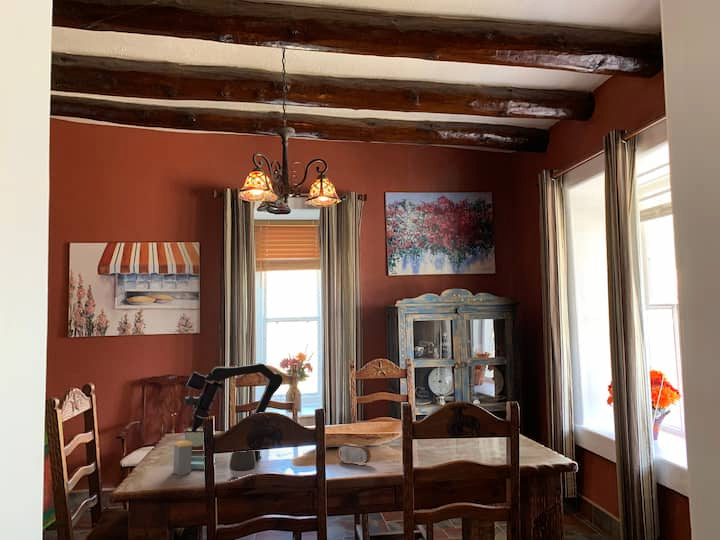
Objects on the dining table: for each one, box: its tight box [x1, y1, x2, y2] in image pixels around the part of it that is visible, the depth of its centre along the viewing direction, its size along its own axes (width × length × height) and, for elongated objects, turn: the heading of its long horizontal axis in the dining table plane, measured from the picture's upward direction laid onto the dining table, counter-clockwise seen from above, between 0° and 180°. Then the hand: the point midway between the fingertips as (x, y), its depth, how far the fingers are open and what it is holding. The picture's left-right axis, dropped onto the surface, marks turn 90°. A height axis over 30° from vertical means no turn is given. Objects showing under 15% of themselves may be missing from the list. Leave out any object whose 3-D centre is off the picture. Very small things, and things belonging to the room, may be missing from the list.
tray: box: [191, 455, 217, 470], centre depth 217 cm, size 11×11×2 cm
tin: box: [336, 442, 372, 464], centre depth 222 cm, size 15×3×8 cm, turn 65°
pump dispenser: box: [229, 451, 257, 479], centre depth 203 cm, size 10×10×15 cm
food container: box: [183, 426, 204, 450], centre depth 243 cm, size 12×6×10 cm, turn 84°
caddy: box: [173, 439, 192, 476], centre depth 207 cm, size 5×5×12 cm
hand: (192, 429), depth 220 cm, fingers open, 9 cm apart
